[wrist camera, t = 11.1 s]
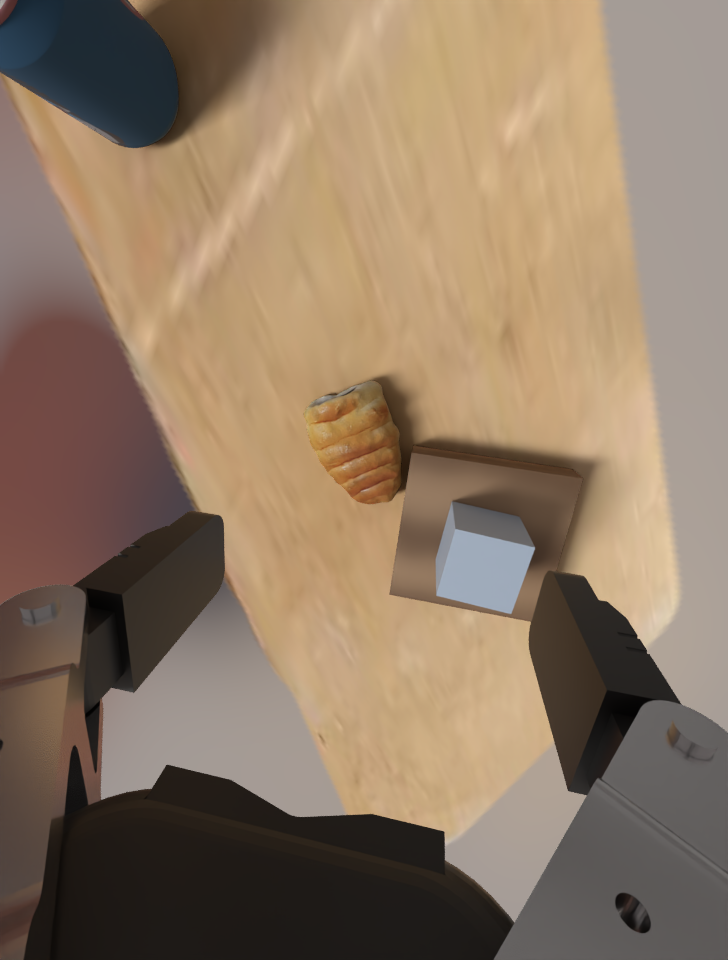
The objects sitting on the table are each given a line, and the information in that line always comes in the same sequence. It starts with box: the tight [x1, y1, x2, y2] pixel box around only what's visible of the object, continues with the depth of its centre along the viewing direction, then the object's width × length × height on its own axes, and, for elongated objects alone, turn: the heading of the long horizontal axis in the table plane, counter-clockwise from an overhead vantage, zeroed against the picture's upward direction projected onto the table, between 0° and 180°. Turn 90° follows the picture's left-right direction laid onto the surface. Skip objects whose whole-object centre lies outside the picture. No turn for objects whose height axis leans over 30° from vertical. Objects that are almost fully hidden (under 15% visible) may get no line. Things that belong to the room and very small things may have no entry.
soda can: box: [0, 0, 179, 148], centre depth 24 cm, size 7×7×12 cm
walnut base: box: [389, 445, 583, 622], centre depth 34 cm, size 12×12×3 cm
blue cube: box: [436, 501, 535, 614], centre depth 30 cm, size 5×5×5 cm
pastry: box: [304, 381, 402, 504], centre depth 33 cm, size 9×7×4 cm
